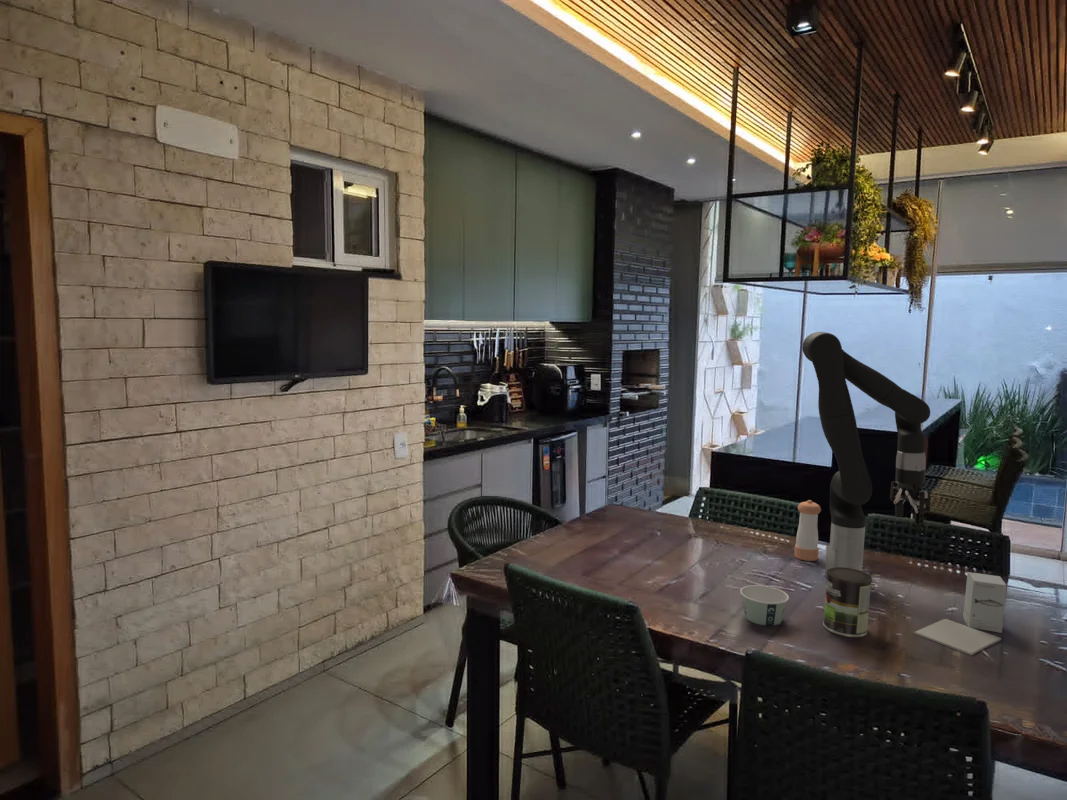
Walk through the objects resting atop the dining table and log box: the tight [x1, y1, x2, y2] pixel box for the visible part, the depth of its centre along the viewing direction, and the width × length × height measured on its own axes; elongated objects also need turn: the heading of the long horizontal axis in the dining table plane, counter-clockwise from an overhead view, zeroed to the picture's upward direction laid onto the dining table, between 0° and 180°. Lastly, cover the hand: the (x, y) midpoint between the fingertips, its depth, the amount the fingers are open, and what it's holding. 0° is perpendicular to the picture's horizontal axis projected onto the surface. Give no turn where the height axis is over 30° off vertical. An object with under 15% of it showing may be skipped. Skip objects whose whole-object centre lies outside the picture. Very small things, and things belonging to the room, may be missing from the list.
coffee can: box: [822, 567, 873, 638], centre depth 171 cm, size 10×10×14 cm
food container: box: [739, 584, 790, 627], centre depth 177 cm, size 12×12×6 cm
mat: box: [913, 618, 1002, 656], centre depth 168 cm, size 15×13×1 cm
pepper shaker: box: [793, 499, 822, 562], centre depth 224 cm, size 7×7×19 cm
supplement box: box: [962, 571, 1008, 634], centre depth 175 cm, size 7×7×13 cm
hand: (908, 520), depth 201 cm, fingers open, 8 cm apart
